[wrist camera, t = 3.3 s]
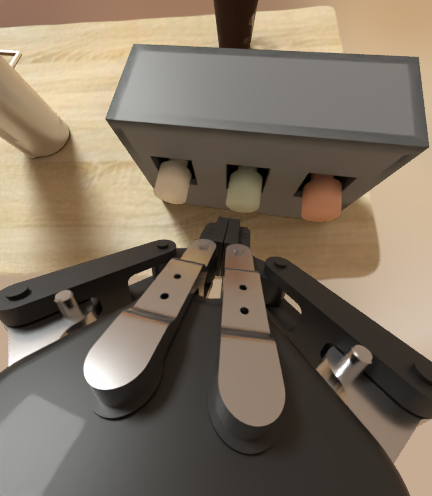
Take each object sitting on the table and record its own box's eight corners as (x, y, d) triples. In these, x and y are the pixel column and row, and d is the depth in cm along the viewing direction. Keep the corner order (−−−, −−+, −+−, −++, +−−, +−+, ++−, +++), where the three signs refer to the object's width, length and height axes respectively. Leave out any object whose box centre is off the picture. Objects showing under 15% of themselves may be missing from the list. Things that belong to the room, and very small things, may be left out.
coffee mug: (236, 71, 39) (239, -1, 30) (206, 54, 41) (200, -19, 31) (270, 40, 41) (284, -38, 31) (240, 25, 43) (244, -54, 33)
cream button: (188, 205, 25) (181, 189, 21) (160, 202, 25) (148, 185, 21) (198, 161, 26) (193, 138, 22) (171, 158, 27) (162, 135, 23)
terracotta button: (329, 223, 23) (349, 209, 19) (296, 219, 23) (309, 204, 20) (330, 174, 25) (349, 152, 21) (299, 171, 25) (312, 149, 21)
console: (325, 222, 30) (429, 147, 15) (162, 201, 33) (105, 118, 17) (327, 169, 33) (418, 56, 17) (174, 153, 35) (133, 43, 20)
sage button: (256, 214, 24) (262, 199, 20) (225, 210, 24) (225, 194, 20) (262, 167, 26) (268, 145, 22) (233, 164, 26) (234, 142, 22)
